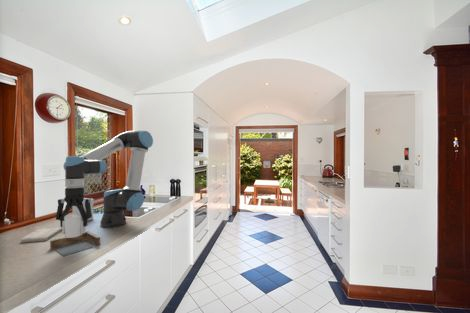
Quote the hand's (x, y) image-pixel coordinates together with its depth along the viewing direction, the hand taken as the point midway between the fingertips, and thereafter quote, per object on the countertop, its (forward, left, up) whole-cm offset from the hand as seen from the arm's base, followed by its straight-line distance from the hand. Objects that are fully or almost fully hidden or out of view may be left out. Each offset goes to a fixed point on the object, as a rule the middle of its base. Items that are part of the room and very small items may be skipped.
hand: (73, 233), depth 105 cm
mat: (0, 0, -8) cm, 8 cm away
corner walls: (-1, -2, -8) cm, 8 cm away
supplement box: (-21, -49, -8) cm, 54 cm away
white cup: (0, 0, -1) cm, 1 cm away
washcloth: (+4, -33, -8) cm, 34 cm away
